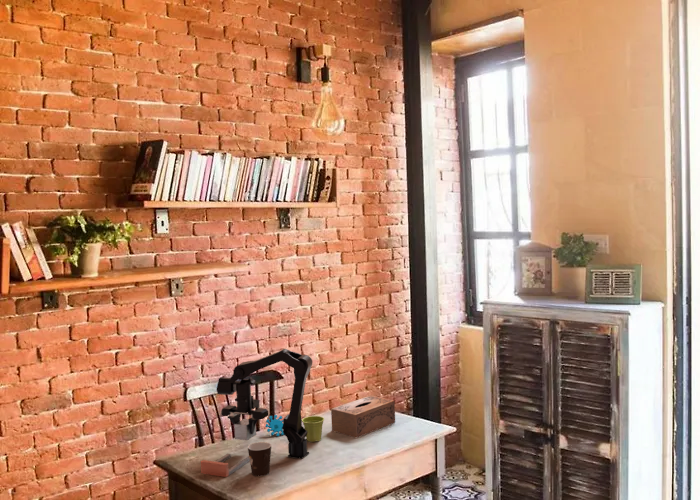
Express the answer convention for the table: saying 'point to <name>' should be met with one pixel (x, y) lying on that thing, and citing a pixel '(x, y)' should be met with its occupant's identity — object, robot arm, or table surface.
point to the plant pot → (313, 427)
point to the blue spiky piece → (275, 425)
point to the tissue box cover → (363, 416)
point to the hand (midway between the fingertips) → (245, 433)
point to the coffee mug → (260, 458)
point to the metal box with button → (243, 430)
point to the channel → (221, 466)
